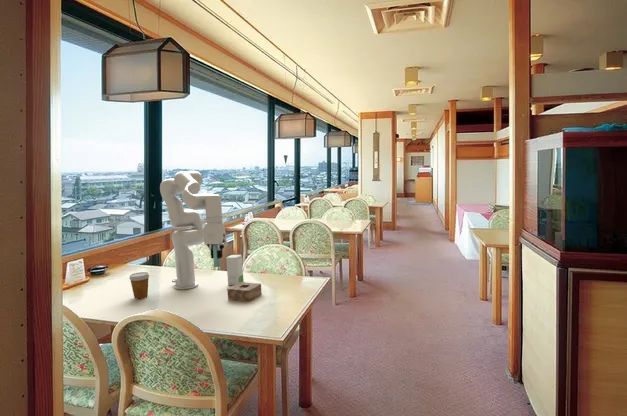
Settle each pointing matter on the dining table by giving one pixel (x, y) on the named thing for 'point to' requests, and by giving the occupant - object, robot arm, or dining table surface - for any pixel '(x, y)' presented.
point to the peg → (215, 256)
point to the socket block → (244, 291)
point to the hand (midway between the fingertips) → (216, 257)
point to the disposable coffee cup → (139, 284)
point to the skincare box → (234, 269)
